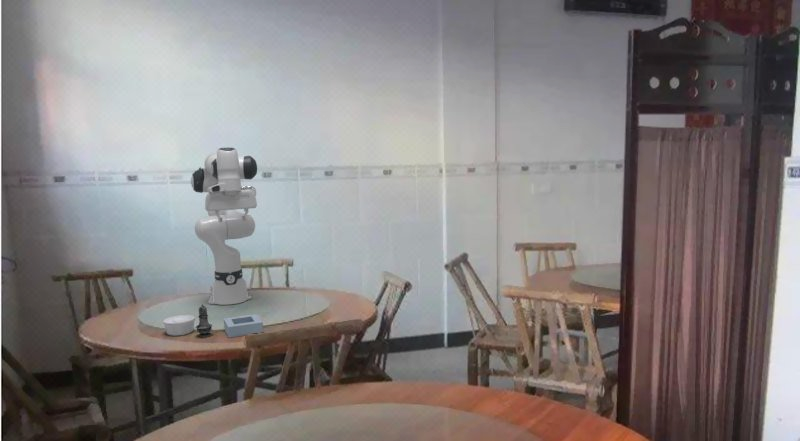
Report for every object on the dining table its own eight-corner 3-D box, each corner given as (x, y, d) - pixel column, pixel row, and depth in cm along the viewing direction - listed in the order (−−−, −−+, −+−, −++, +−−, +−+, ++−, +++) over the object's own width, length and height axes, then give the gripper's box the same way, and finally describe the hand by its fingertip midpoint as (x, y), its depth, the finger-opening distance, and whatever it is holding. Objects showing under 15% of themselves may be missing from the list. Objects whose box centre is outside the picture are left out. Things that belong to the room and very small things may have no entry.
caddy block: (224, 328, 239) (223, 318, 238) (257, 323, 243) (256, 314, 243) (228, 337, 227) (228, 327, 227) (263, 332, 232) (262, 322, 231)
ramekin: (157, 335, 233) (156, 321, 232) (178, 326, 243) (177, 313, 242) (181, 338, 229) (180, 324, 228) (201, 329, 239) (200, 315, 238)
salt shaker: (216, 333, 233) (214, 302, 231) (206, 338, 227) (204, 306, 225) (202, 332, 234) (200, 301, 233) (192, 337, 229) (190, 305, 227)
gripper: (254, 186, 260) (256, 219, 261) (203, 188, 252) (206, 222, 253) (257, 185, 254) (259, 219, 255) (204, 188, 246) (207, 223, 247)
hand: (232, 221), depth 254 cm, fingers open, 8 cm apart
